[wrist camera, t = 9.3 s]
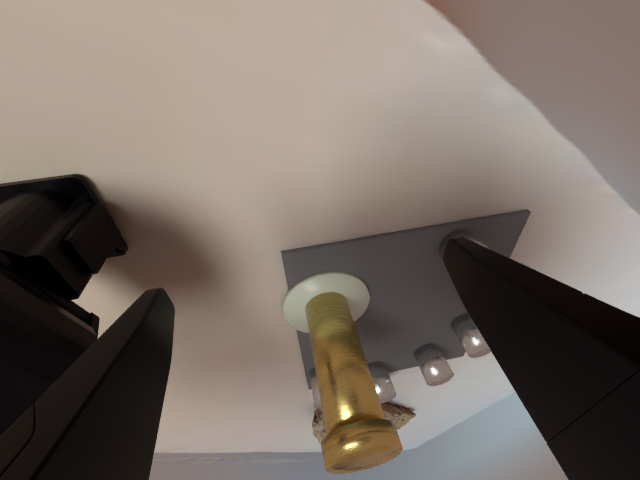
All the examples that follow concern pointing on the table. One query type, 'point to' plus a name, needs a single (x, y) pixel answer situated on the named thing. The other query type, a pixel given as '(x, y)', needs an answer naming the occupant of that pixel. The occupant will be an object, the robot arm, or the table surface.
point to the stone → (390, 412)
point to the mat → (402, 286)
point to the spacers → (426, 348)
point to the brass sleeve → (347, 391)
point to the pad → (321, 284)
